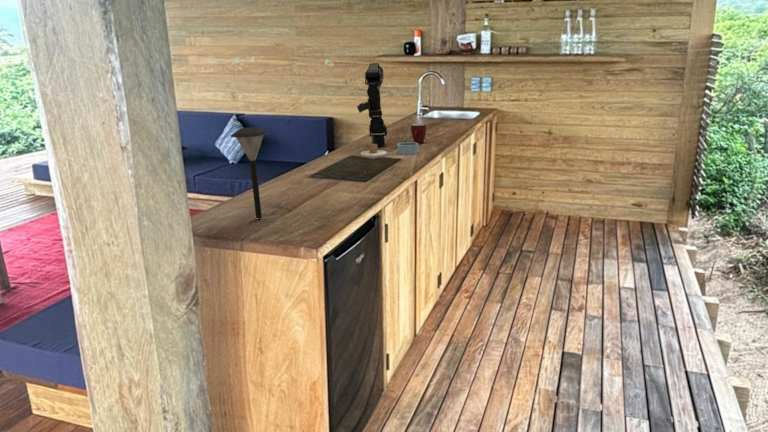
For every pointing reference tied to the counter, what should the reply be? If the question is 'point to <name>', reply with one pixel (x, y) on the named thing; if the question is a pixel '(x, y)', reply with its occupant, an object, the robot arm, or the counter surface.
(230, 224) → the counter surface
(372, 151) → the lid
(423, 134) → the mug
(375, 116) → the robot arm
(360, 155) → the mat
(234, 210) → the counter surface
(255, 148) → the solar garden light
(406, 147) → the bowl
